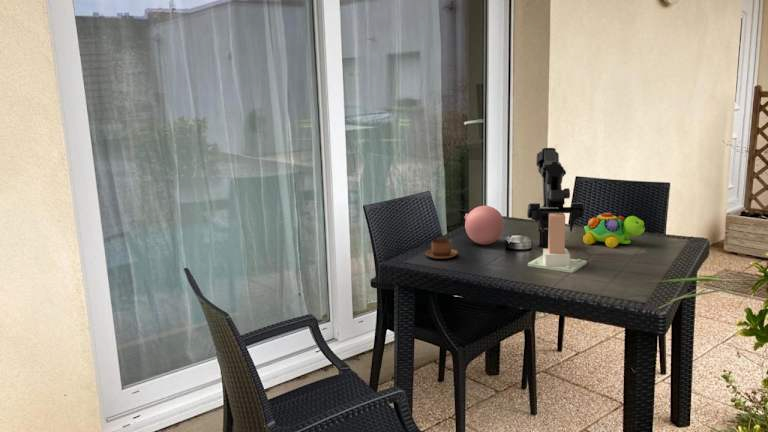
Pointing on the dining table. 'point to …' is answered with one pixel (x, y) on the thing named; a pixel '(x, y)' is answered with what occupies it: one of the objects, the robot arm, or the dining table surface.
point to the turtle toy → (612, 229)
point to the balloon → (484, 224)
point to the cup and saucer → (441, 249)
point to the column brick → (556, 233)
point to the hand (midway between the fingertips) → (557, 231)
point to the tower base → (558, 268)
